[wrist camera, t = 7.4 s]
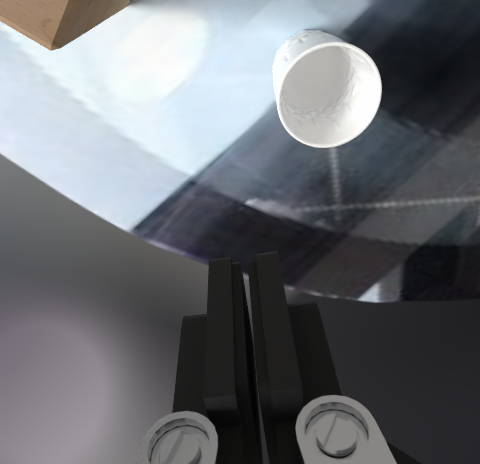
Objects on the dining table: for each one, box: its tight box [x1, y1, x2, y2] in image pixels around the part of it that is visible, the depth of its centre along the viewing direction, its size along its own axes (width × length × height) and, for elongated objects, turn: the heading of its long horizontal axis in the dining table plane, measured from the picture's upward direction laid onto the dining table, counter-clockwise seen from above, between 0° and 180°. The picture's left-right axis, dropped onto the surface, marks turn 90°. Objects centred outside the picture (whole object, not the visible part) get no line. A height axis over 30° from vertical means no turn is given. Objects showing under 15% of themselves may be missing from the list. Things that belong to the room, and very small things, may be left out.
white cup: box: [272, 30, 382, 148], centre depth 38 cm, size 8×8×10 cm
